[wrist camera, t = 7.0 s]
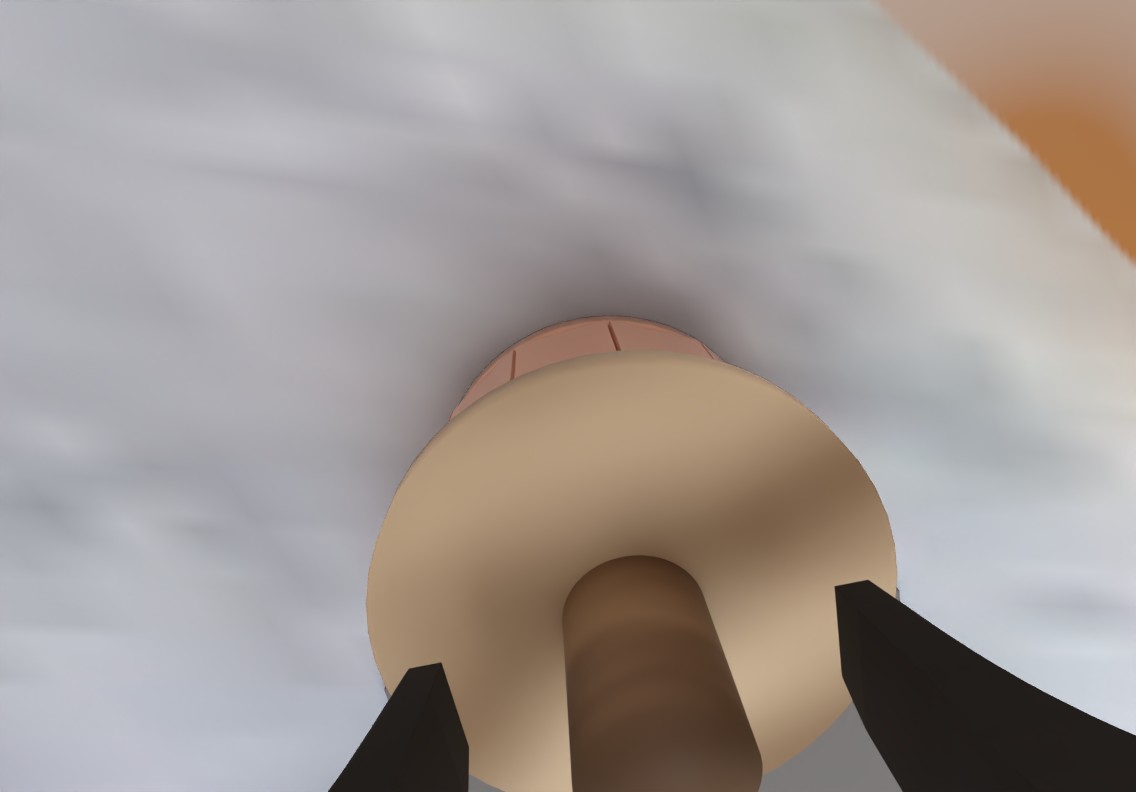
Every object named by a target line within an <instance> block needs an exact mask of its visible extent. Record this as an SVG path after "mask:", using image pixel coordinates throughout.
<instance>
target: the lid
mask: <svg viewBox="0 0 1136 792" xmlns="http://www.w3.org/2000/svg"><path fill="white" fill-rule="evenodd" d="M864 580H870V581H871V582H873V583H874V584H875V585H877V586H878V587H880V588H881V589H883V590H884V591H886V592H887V593H888V594H890V595H891V596H893V597H894V598H896V584H897V565H896V553H895V543H894V539H893V535H892V531H891V527H890V523H889V519H888V515H887V513H886V511H885V509H884V506H883V504H882V502H881V499H880V497H879V495H878V492H877V490H876V488H875V486H874V484H873V483H872V481H871V480H870V478H869V477H868V475H867V473H866V472H865V470H864V469H863V467H862V466H861V464H860V462H859V461H858V460H857V459H856V458H855V456H854V455H853V454H852V453H851V452H850V451H849V450H848V448H847V447H846V446H845V445H844V444H843V443H842V442H841V441H840V439H839V438H838V437H837V436H836V435H835V434H834V433H833V432H832V431H831V430H830V429H829V428H828V427H827V426H826V425H825V424H824V423H823V422H822V421H821V420H820V419H819V418H818V417H817V416H816V415H815V414H814V413H813V412H811V411H810V410H809V409H808V408H807V407H805V406H804V405H803V404H802V403H801V402H799V401H798V400H797V399H796V398H795V397H793V396H792V395H790V394H789V393H787V392H785V391H784V390H782V389H780V388H779V387H777V386H776V385H774V384H772V383H771V382H769V381H767V380H766V379H764V378H762V377H759V376H757V375H755V374H752V373H750V372H748V371H745V370H743V369H741V368H739V367H736V366H734V365H731V364H727V363H724V362H720V361H716V360H713V359H709V358H706V357H702V356H698V355H691V354H684V353H677V352H670V351H663V350H622V351H613V352H603V353H594V354H588V355H584V356H579V357H575V358H571V359H567V360H563V361H559V362H554V363H552V364H549V365H546V366H544V367H541V368H538V369H536V370H533V371H530V372H528V373H525V374H522V375H520V376H518V377H516V378H514V379H512V380H510V381H508V382H506V383H505V384H503V385H501V386H499V387H497V388H495V389H493V390H491V391H489V392H488V393H486V394H485V395H483V396H482V397H481V398H479V399H478V400H476V401H475V402H474V403H472V404H471V405H469V406H468V407H467V408H465V409H464V410H462V411H461V412H459V413H458V414H457V415H456V416H455V417H454V418H453V419H452V420H451V421H450V422H449V423H448V424H447V425H445V426H444V427H443V428H442V429H441V430H440V431H439V432H438V433H437V434H436V435H435V436H434V437H433V438H432V439H431V441H430V442H429V443H428V444H427V445H426V447H425V448H424V449H423V450H422V452H421V453H420V454H419V455H418V457H417V458H416V459H415V460H414V461H413V463H412V465H411V466H410V468H409V470H408V471H407V473H406V475H405V476H404V478H403V480H402V481H401V483H400V485H399V487H398V488H397V490H396V493H395V495H394V498H393V500H392V502H391V505H390V507H389V510H388V512H387V515H386V517H385V520H384V522H383V525H382V528H381V530H380V533H379V535H378V538H377V541H376V544H375V548H374V552H373V556H372V560H371V564H370V568H369V573H368V584H367V596H366V610H367V623H368V634H369V638H370V642H371V646H372V650H373V654H374V658H375V662H376V664H377V667H378V669H379V672H380V674H381V676H382V679H383V681H384V684H385V686H386V688H387V690H388V691H389V693H390V695H392V694H393V692H394V691H395V689H396V687H397V686H398V684H399V683H400V681H401V679H402V678H403V676H404V675H405V673H406V672H407V671H408V669H409V668H414V667H419V666H424V665H430V664H435V663H440V662H442V666H443V669H444V672H445V675H446V678H447V681H448V684H449V687H450V690H451V693H452V696H453V699H454V702H455V705H456V708H457V711H458V715H459V718H460V721H461V724H462V727H463V730H464V733H465V736H466V739H467V742H468V745H469V774H470V775H472V776H474V777H476V778H477V779H479V780H481V781H483V782H485V783H486V784H488V785H490V786H493V787H495V788H498V789H500V790H502V791H505V792H758V791H759V788H760V785H761V780H762V776H763V775H765V774H767V773H768V772H770V771H772V770H774V769H776V768H778V767H779V766H781V765H782V764H784V763H785V762H787V761H788V760H790V759H791V758H792V757H794V756H795V755H797V754H798V753H800V752H801V751H803V750H804V749H805V748H806V747H808V746H809V745H810V744H811V743H812V742H813V741H815V740H816V739H817V738H818V737H819V736H820V735H821V734H823V733H824V732H825V731H826V730H827V729H828V728H829V727H830V726H831V725H832V724H833V723H834V722H835V721H836V719H837V718H838V717H839V716H840V715H841V714H842V713H843V712H844V711H845V710H846V709H847V707H848V706H849V705H850V703H851V702H852V701H853V700H852V698H851V696H850V694H849V691H848V689H847V687H846V684H845V682H844V680H843V678H842V672H841V660H840V648H839V636H838V623H837V611H836V599H835V587H834V586H838V585H843V584H848V583H853V582H858V581H864Z"/></svg>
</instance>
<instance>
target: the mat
mask: <svg viewBox="0 0 1136 792" xmlns="http://www.w3.org/2000/svg"><path fill="white" fill-rule="evenodd" d="M896 599H897V600H898V601H900V595H899V590H898V589H897V587H896ZM385 693H386V695H387V698H388V700H389V699H390V697H391V695H390V693H389V691H388V690H387V688H386V686H385ZM468 792H505V791H502V790H500V789H498V788H495V787H493V786H490V785H488V784H486V783H485V782H483V781H481V780H479V779H477V778H476V777H474V776H472V775H470V774H469V789H468ZM758 792H902V790H901V788H900V787H899V785H898V783H897V782H896V780H895V778H894V777H893V775H892V773H891V772H890V770H889V768H888V766H887V765H886V763H885V761H884V760H883V758H882V756H881V755H880V753H879V751H878V750H877V748H876V746H875V745H874V743H873V741H872V739H871V738H870V736H869V734H868V732H867V731H866V729H865V727H864V725H863V722H862V720H861V718H860V716H859V714H858V712H857V709H856V707H855V705H854V703H853V701H852V702H851V703H850V705H849V706H848V707H847V709H846V710H845V711H844V712H843V713H842V714H841V715H840V716H839V717H838V718H837V719H836V721H835V722H834V723H833V724H832V725H831V726H830V727H829V728H828V729H827V730H826V731H825V732H824V733H823V734H821V735H820V736H819V737H818V738H817V739H816V740H815V741H813V742H812V743H811V744H810V745H809V746H808V747H806V748H805V749H804V750H803V751H801V752H800V753H798V754H797V755H795V756H794V757H792V758H791V759H790V760H788V761H787V762H785V763H784V764H782V765H781V766H779V767H778V768H776V769H774V770H772V771H770V772H768V773H767V774H765V775H763V776H762V780H761V785H760V788H759V791H758Z"/></svg>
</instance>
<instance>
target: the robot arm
mask: <svg viewBox="0 0 1136 792" xmlns="http://www.w3.org/2000/svg"><path fill="white" fill-rule="evenodd" d="M834 587H835V599H836V611H837V623H838V636H839V648H840V660H841V672H842V678H843V680H844V682H845V684H846V687H847V689H848V691H849V694H850V696H851V698H852V700H853V703H854V705H855V707H856V709H857V712H858V714H859V716H860V718H861V720H862V722H863V725H864V727H865V729H866V731H867V732H868V734H869V736H870V738H871V739H872V741H873V743H874V745H875V746H876V748H877V750H878V751H879V753H880V755H881V756H882V758H883V760H884V761H885V763H886V765H887V766H888V768H889V770H890V772H891V773H892V775H893V777H894V778H895V780H896V782H897V783H898V785H899V787H900V788H901V790H902V792H1136V735H1133V734H1131V733H1129V732H1126V731H1124V730H1122V729H1119V728H1117V727H1115V726H1113V725H1110V724H1108V723H1106V722H1104V721H1102V720H1099V719H1097V718H1095V717H1093V716H1091V715H1089V714H1087V713H1085V712H1083V711H1081V710H1079V709H1077V708H1075V707H1073V706H1071V705H1069V704H1067V703H1065V702H1063V701H1061V700H1059V699H1057V698H1055V697H1053V696H1051V695H1049V694H1047V693H1045V692H1043V691H1041V690H1039V689H1038V688H1036V687H1034V686H1032V685H1030V684H1028V683H1027V682H1025V681H1023V680H1021V679H1020V678H1018V677H1016V676H1014V675H1013V674H1011V673H1009V672H1007V671H1006V670H1004V669H1002V668H1001V667H999V666H997V665H995V664H994V663H992V662H990V661H989V660H987V659H985V658H984V657H982V656H981V655H979V654H977V653H976V652H974V651H972V650H971V649H969V648H968V647H966V646H965V645H963V644H962V643H960V642H959V641H957V640H956V639H954V638H952V637H951V636H949V635H948V634H946V633H945V632H943V631H942V630H940V629H939V628H937V627H936V626H934V625H933V624H931V623H930V622H929V621H927V620H926V619H924V618H923V617H921V616H920V615H918V614H917V613H916V612H914V611H913V610H911V609H910V608H908V607H907V606H906V605H904V604H903V603H901V602H900V601H898V600H897V599H896V598H894V597H893V596H891V595H890V594H888V593H887V592H886V591H884V590H883V589H881V588H880V587H878V586H877V585H875V584H874V583H873V582H871V581H870V580H864V581H858V582H853V583H848V584H843V585H838V586H834ZM468 789H469V745H468V742H467V739H466V736H465V733H464V730H463V727H462V724H461V721H460V718H459V715H458V711H457V708H456V705H455V702H454V699H453V696H452V693H451V690H450V687H449V684H448V681H447V678H446V675H445V672H444V669H443V666H442V662H440V663H435V664H430V665H424V666H419V667H414V668H409V669H408V671H407V672H406V673H405V675H404V676H403V678H402V679H401V681H400V683H399V684H398V686H397V687H396V689H395V691H394V692H393V694H392V695H391V697H390V699H389V700H388V702H387V704H386V705H385V707H384V708H383V710H382V712H381V713H380V715H379V716H378V718H377V720H376V721H375V723H374V724H373V726H372V728H371V729H370V731H369V732H368V734H367V735H366V737H365V738H364V740H363V741H362V743H361V744H360V746H359V747H358V749H357V750H356V752H355V753H354V755H353V757H352V758H351V760H350V761H349V763H348V764H347V766H346V767H345V768H344V770H343V771H342V773H341V774H340V776H339V777H338V778H337V780H336V781H335V783H334V784H333V785H332V787H331V788H330V789H329V791H328V792H468Z"/></svg>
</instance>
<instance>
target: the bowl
mask: <svg viewBox="0 0 1136 792" xmlns="http://www.w3.org/2000/svg"><path fill="white" fill-rule="evenodd" d="M622 350H663V351H670V352H677V353H684V354H691V355H698V356H702V357H706V358H709V359H713V360H716V361H720V362H724V361H723V360H722V359H721V358H720V357H718V356H717V355H716V354H715V353H714V352H713V351H711V350H710V349H709V348H708V347H707V346H705V345H704V344H703V343H702V342H701V343H700V342H699V341H698V340H696V339H694V338H692V337H691V336H689V335H687V334H685V333H683V332H681V331H679V330H676V329H674V328H672V327H670V326H667V325H663V324H660V323H657V322H653V321H650V320H646V319H639V318H633V317H627V316H596V317H585V318H579V319H574V320H570V321H566V322H561V323H558V324H555V325H552V326H550V327H547V328H544V329H541V330H539V331H537V332H535V333H533V334H531V335H529V336H527V337H525V338H523V339H521V340H519V341H518V342H516V343H515V344H514V345H512V346H511V347H509V348H508V349H506V350H505V351H504V352H502V353H501V354H500V355H499V356H497V357H496V358H495V359H494V360H493V361H492V362H491V363H490V364H489V365H488V366H487V367H485V368H484V370H483V371H482V372H481V373H480V375H479V376H478V377H477V378H476V379H475V381H474V382H473V383H472V384H471V386H470V387H469V389H468V391H467V392H466V394H465V395H464V397H463V399H462V400H461V402H460V404H459V405H458V406H457V407H456V408H455V410H454V411H453V412H452V415H451V416H450V420H449V422H450V421H451V420H452V419H453V418H454V417H455V416H456V415H457V414H458V413H459V412H461V411H462V410H464V409H465V408H467V407H468V406H469V405H471V404H472V403H474V402H475V401H476V400H478V399H479V398H481V397H482V396H483V395H485V394H486V393H488V392H489V391H491V390H493V389H495V388H497V387H499V386H501V385H503V384H505V383H506V382H508V381H510V380H512V379H514V378H516V377H518V376H520V375H522V374H525V373H528V372H530V371H533V370H536V369H538V368H541V367H544V366H546V365H549V364H552V363H554V362H559V361H563V360H567V359H571V358H575V357H579V356H584V355H588V354H594V353H603V352H613V351H622ZM724 363H725V362H724Z"/></svg>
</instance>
